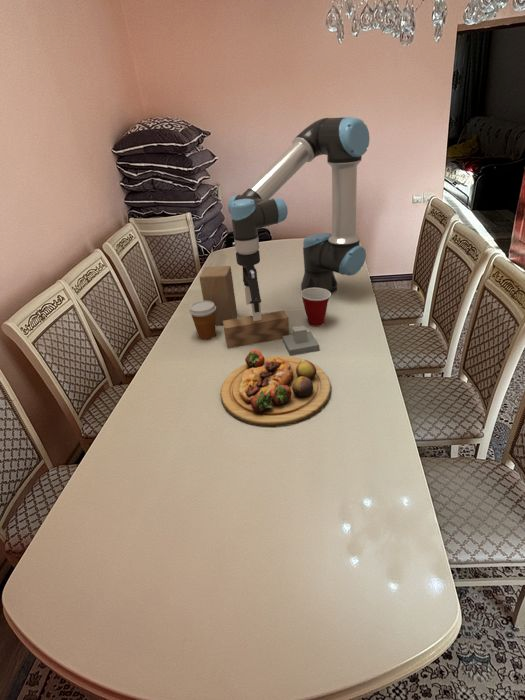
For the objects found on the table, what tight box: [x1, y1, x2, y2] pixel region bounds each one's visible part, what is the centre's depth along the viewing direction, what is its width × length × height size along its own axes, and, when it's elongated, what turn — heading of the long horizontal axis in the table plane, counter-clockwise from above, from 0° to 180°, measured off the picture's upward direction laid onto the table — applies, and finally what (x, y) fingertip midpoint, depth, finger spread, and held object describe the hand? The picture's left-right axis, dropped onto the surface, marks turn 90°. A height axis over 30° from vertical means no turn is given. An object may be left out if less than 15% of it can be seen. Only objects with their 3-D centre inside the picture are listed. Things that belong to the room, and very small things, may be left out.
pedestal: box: [282, 325, 320, 357], centre depth 150 cm, size 10×10×6 cm
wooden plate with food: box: [219, 349, 332, 428], centre depth 129 cm, size 32×32×8 cm
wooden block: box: [198, 265, 238, 326], centre depth 170 cm, size 10×10×20 cm
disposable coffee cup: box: [189, 300, 217, 340], centre depth 162 cm, size 10×10×12 cm
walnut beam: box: [222, 309, 291, 349], centre depth 157 cm, size 22×6×8 cm, turn 101°
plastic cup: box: [300, 288, 332, 327], centre depth 162 cm, size 11×11×12 cm
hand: (253, 311), depth 153 cm, fingers open, 13 cm apart
